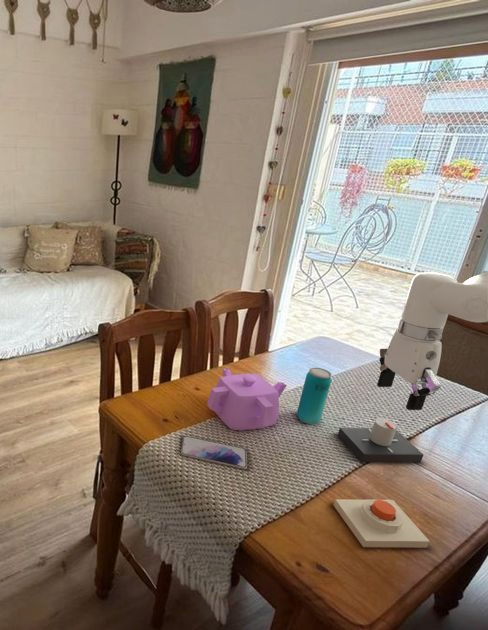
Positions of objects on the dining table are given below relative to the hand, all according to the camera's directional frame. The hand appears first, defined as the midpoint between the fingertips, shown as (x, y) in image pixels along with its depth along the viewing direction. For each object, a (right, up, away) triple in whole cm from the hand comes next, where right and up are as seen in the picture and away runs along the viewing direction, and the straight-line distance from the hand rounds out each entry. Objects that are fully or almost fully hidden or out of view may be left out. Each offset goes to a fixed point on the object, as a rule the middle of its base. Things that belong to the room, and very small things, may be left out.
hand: (398, 397), depth 101 cm
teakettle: (-28, -9, +19) cm, 35 cm away
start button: (-15, -20, -16) cm, 30 cm away
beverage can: (-11, -10, +18) cm, 23 cm away
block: (-15, -23, -15) cm, 31 cm away
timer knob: (0, -12, +5) cm, 13 cm away
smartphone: (-41, -15, +4) cm, 44 cm away
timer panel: (0, -14, +6) cm, 16 cm away
